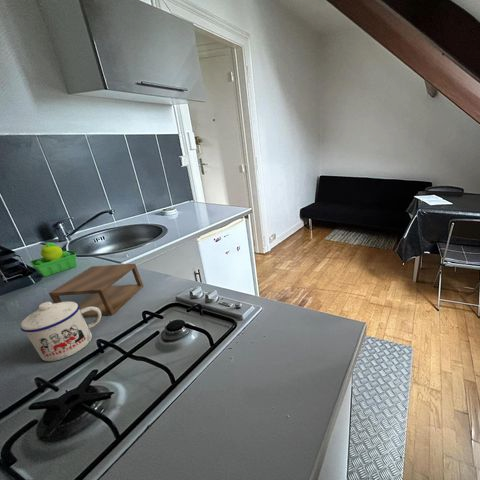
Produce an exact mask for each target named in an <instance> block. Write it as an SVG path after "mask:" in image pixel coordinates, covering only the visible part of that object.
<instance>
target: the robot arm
mask: <svg viewBox="0 0 480 480" xmlns="http://www.w3.org/2000/svg"><path fill="white" fill-rule="evenodd" d="M6 285H7V284H6V282H5V281H4V279H3V278H2V276H1V275H0V289H1V288H2V287H5V286H6Z"/></svg>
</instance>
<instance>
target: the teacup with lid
mask: <svg viewBox="0 0 480 480" xmlns="http://www.w3.org/2000/svg"><path fill="white" fill-rule="evenodd" d="M78 304H79V303H76V302H75V301H62V302H60V303H54V302H53V303H52V302H51V301H44V302H42V303H40V304H39V305H38V309H36V310H35V311H34V312H32V313H30V314H28V315H27V316H26V317H25V318H24V319H23V320H22V321H21V323H20V330H21V331H22V332H24V334H25V335H26V336H27V338H28V339H29V341H30V343H31V344H32V346H33V347H34V349H35V350H36V352H37V354H38V355H39V357H40V358H41V359H42V360H43V361H45V362H57V361H61V360H64V359H66V358H69V357H70V356H73V355H75V354H76V353H79V351H81V350H83V349H85V347H87V346H88V344H89V343H90V342H91V341H92V338H93V334H92V332H91V330H90V329H92V328H93V327H95V326H96V325H98V324H99V323H100V321H101V319H102V316H101V311H100V309H99V308H97V307H87V308H84V309H81V310H79V305H78ZM87 311H96V312H97V316H96V318H95V319H94V321H91V323H88V324H87V322H86V320H85V317H83V316H82V314H83V313H85V312H87Z"/></svg>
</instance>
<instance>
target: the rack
mask: <svg viewBox="0 0 480 480" xmlns="http://www.w3.org/2000/svg"><path fill="white" fill-rule="evenodd" d="M130 272H132V274H133V277H134V279H135V282H136V284H124V285H123V284H121V285H114V284H116V283H117V282H118V281H120V280H121V279H122V278H124V276H126V275H127V274H129V273H130ZM143 287H144V284H143V281H142V278H141V275H140V273H139V270H138V268H137V265H136V263H122V264H109V265H108V264H107V265H94V266H93V265H92V266H90V267H88V268H87V269H85V270H83V271H82V272H80V273H78V274H77V275H75V276H74V277H72V278H71V279H69V280H68V281H66V282H65V283H63V284H61V285H60V286H58V287H56V288H54V289H52V290H51V291H49V292H48V295H49V297H50V298H51V300H52V302H53V304H54V303H60V302H63V301H62V300H61V296H74V295H75V296H78V295H88V296H87V297H85V298H84V299H83V300H81V301H79V302H78V303H77V304H78V305H79V310H81V309H84V308H87V307H97V308H99V309H100V311H101V317H107V316H114V315H115V314H116V313H117V312H118V311H119V310H120V309H121V308H123V306H124V305H126V303H127V302H128V301H130V299H131V298H132V297H134V296H135V295H136V294H137V293H138V292H139V291H140V290H141V289H142V288H143ZM82 316H83V318H93V317H97V312H96V311H87V312H85V313H83V314H82Z"/></svg>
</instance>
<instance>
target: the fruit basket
mask: <svg viewBox="0 0 480 480" xmlns="http://www.w3.org/2000/svg"><path fill="white" fill-rule="evenodd" d="M40 256H41V257H40V258H37V259H33V260H30V261H29V264H30V265H31V266H32V267H33V268H34V269H35V270H37V272H38V273H39V274H40V275H42V277H43V278H45V277H49V276H51V275H54V274H58V273H60V272H64V271H67V270H69V269H73V268H75V267H77V253H76V252H75V251H73V250H72V249H69V250H64V251H63V249H62V248H61V247H60V246H58V245H57V244H55V243H54V242H47V243H45V245H43V246H42V247H41V250H40Z"/></svg>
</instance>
